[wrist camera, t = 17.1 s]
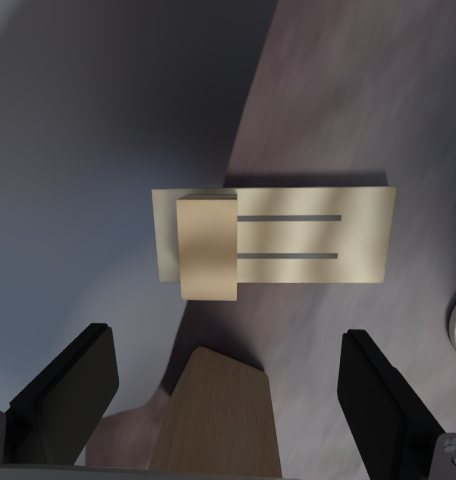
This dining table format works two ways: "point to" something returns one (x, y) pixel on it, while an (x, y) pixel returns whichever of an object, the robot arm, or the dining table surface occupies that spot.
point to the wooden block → (219, 420)
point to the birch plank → (293, 233)
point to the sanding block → (208, 246)
